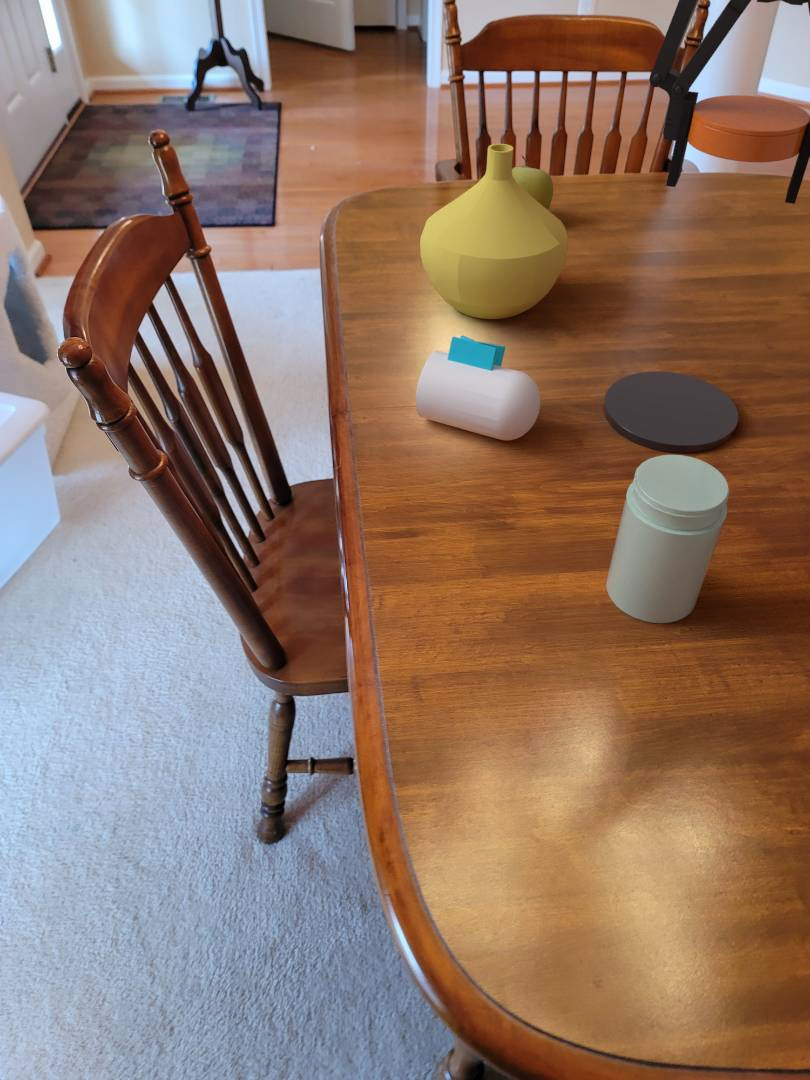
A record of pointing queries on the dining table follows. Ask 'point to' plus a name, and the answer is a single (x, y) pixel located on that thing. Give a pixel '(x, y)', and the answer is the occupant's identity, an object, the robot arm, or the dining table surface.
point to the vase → (494, 245)
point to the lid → (748, 128)
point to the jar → (666, 537)
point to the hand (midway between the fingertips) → (731, 188)
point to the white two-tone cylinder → (477, 391)
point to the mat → (670, 412)
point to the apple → (535, 183)
